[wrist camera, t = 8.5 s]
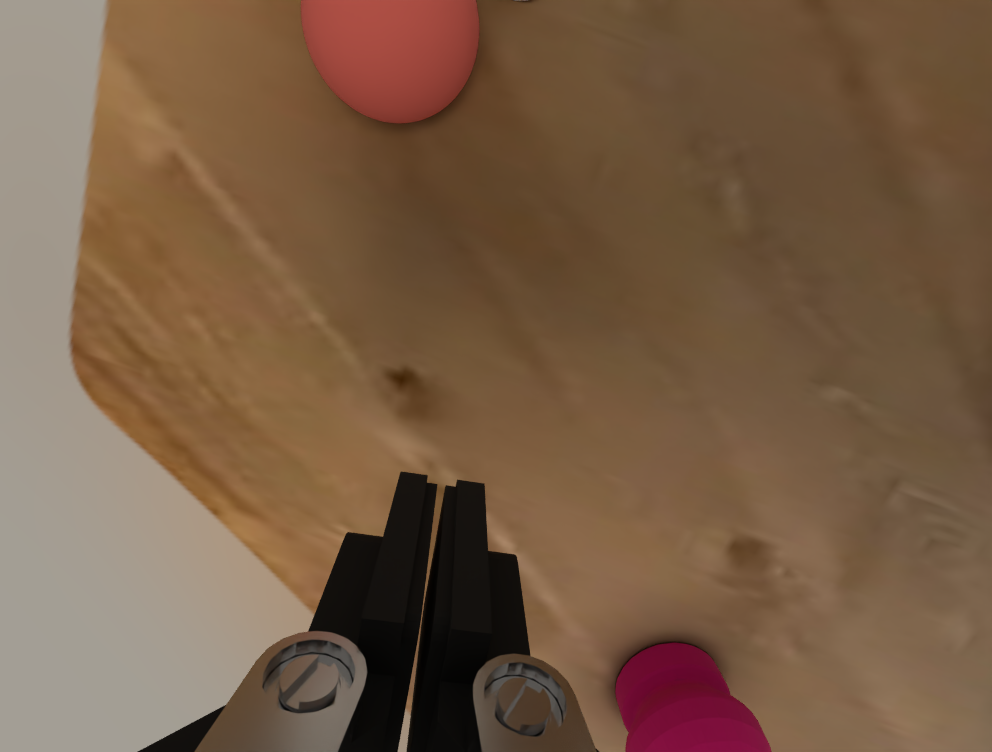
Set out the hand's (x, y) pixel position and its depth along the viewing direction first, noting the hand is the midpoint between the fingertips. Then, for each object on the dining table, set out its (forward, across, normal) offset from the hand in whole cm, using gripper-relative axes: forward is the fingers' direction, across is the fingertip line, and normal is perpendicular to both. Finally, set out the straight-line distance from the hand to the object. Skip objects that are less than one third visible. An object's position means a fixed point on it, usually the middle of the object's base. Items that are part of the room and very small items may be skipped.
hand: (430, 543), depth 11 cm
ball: (+12, +4, -12) cm, 17 cm away
